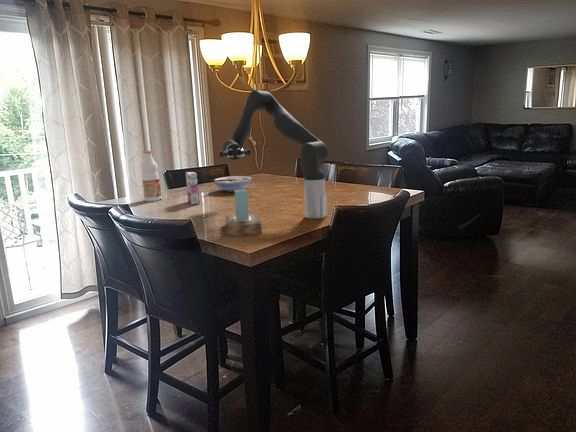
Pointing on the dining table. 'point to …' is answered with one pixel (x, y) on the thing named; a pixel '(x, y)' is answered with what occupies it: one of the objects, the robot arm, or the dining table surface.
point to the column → (241, 204)
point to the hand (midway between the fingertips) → (235, 154)
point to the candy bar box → (192, 188)
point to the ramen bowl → (232, 182)
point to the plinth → (243, 225)
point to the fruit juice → (150, 178)
